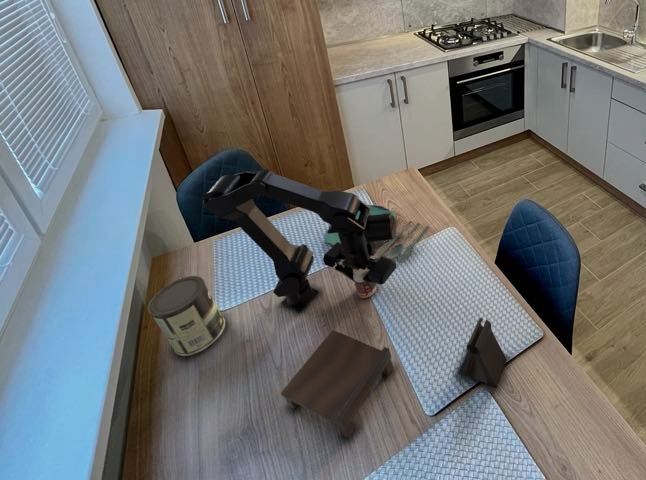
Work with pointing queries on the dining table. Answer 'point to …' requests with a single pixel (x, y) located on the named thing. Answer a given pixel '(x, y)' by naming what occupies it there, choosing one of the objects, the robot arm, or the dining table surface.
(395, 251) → the cutlery set
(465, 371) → the phone stand
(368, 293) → the pill bottle
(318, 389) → the shelf
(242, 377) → the dining table surface
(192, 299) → the coffee can
